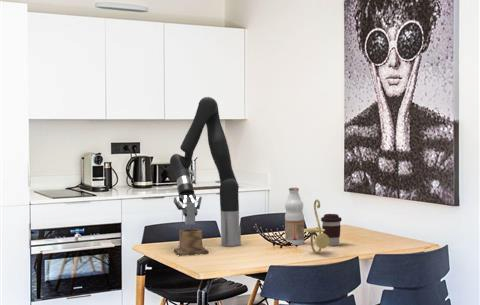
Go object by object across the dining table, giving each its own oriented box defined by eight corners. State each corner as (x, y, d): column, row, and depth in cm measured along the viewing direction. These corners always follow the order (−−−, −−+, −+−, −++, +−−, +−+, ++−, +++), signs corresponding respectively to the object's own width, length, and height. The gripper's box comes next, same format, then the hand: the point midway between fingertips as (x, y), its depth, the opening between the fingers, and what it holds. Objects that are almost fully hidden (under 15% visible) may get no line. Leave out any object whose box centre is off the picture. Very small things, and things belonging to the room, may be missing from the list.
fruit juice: (284, 245, 300) (283, 188, 299) (286, 242, 309) (285, 187, 309) (303, 245, 298) (302, 188, 298) (305, 242, 307) (304, 187, 307)
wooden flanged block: (202, 249, 292) (202, 227, 292) (208, 253, 280) (208, 231, 280) (173, 251, 288) (173, 229, 288) (178, 256, 276) (178, 233, 276)
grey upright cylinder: (193, 223, 286) (193, 201, 286) (195, 224, 283) (194, 202, 282) (185, 223, 285) (184, 202, 285) (186, 224, 281) (186, 203, 281)
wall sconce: (332, 255, 270) (331, 199, 270) (312, 257, 268) (311, 200, 267) (320, 250, 284) (319, 197, 283) (301, 251, 281) (300, 198, 281)
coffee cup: (344, 243, 300) (343, 213, 300) (338, 247, 291) (338, 216, 291) (324, 242, 304) (324, 213, 304) (318, 246, 295) (318, 215, 295)
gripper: (171, 182, 289) (176, 211, 277) (200, 181, 293) (207, 209, 281) (169, 192, 294) (174, 221, 282) (198, 191, 298) (204, 219, 287)
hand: (190, 215), depth 282 cm, fingers closed on grey upright cylinder, 4 cm apart
